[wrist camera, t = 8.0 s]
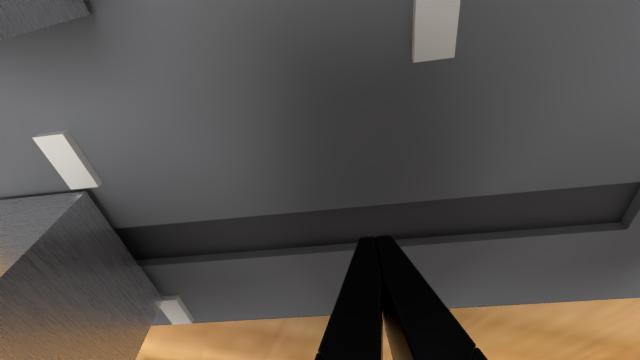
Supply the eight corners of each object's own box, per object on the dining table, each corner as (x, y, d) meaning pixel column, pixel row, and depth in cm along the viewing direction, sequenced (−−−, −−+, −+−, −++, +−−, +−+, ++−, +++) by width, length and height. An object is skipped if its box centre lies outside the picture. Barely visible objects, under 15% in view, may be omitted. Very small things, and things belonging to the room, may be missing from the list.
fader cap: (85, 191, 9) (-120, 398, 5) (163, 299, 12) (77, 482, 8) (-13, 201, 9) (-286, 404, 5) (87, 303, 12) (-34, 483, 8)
